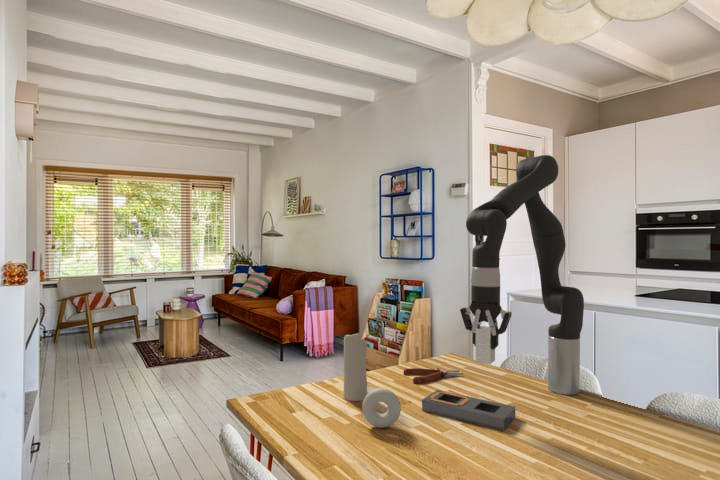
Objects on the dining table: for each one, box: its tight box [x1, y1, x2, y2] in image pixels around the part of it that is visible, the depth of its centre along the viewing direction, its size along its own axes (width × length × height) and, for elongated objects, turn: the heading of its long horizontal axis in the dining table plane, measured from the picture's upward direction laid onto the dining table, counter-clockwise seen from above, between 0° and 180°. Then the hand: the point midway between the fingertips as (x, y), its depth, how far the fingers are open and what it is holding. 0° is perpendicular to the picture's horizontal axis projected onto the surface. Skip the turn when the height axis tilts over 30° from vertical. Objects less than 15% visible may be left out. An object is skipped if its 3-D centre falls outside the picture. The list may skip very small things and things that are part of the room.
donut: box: [361, 387, 402, 429], centre depth 115 cm, size 10×4×10 cm, turn 86°
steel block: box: [474, 325, 496, 365], centre depth 121 cm, size 4×4×9 cm
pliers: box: [403, 367, 464, 385], centre depth 156 cm, size 12×20×3 cm, turn 104°
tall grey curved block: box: [343, 333, 378, 402], centre depth 139 cm, size 7×14×20 cm, turn 148°
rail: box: [421, 389, 516, 432], centre depth 124 cm, size 10×23×3 cm, turn 55°
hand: (485, 347), depth 121 cm, fingers closed on steel block, 4 cm apart
